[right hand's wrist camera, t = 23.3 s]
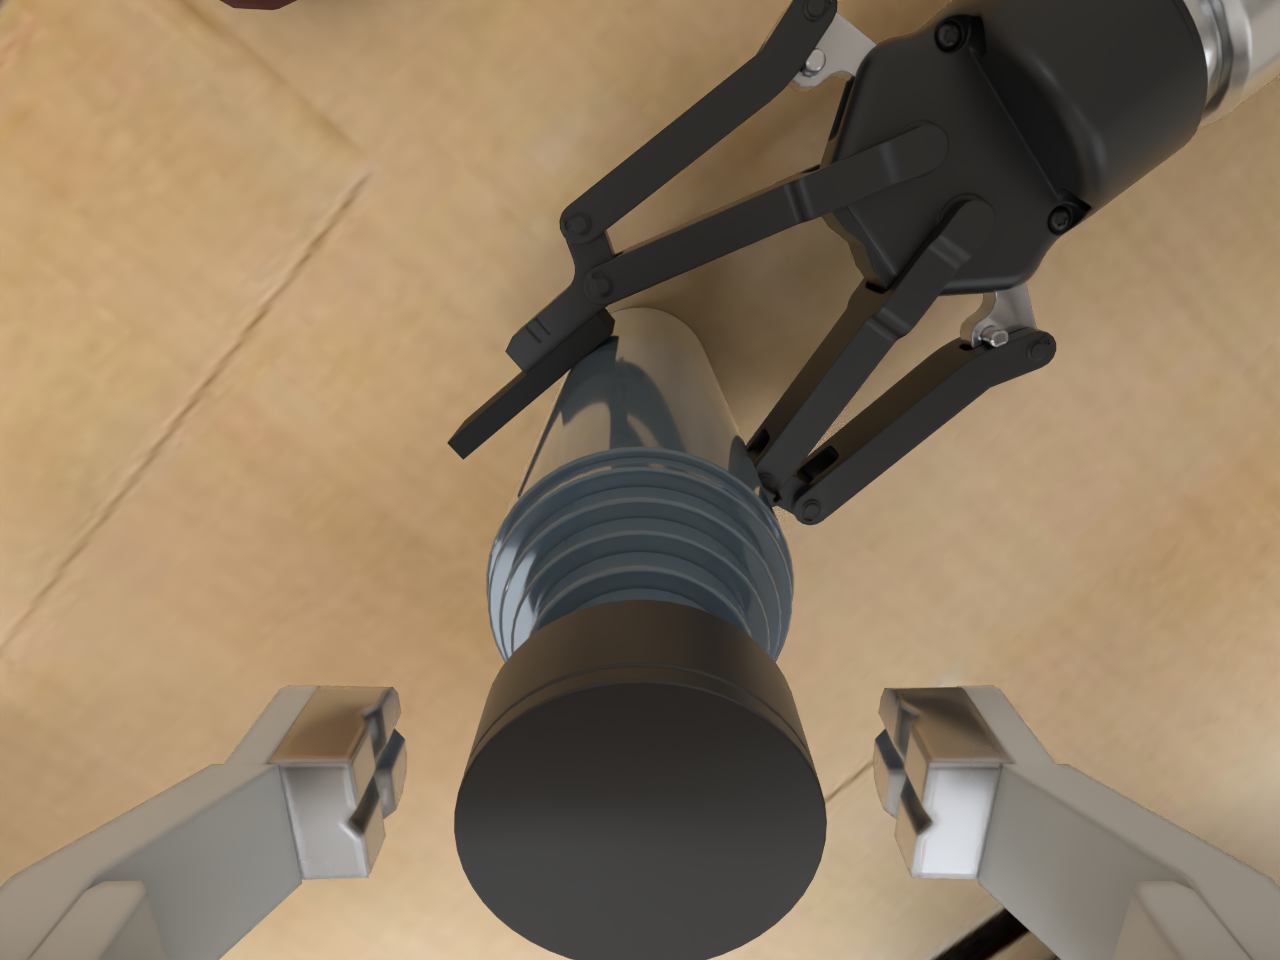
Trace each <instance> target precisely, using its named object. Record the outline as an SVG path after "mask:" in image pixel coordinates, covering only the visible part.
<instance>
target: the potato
mask: <svg viewBox="0 0 1280 960" xmlns="http://www.w3.org/2000/svg"><path fill="white" fill-rule="evenodd" d="M220 1H222V2H224V3H226V4H228V5H229V6H231V7H233V8H244V9H263V10H275V9H279V8H281V7H284V6H286V5H288V4H290V3H292V2H294V1H296V0H220Z"/></svg>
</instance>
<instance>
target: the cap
mask: <svg viewBox="0 0 1280 960" xmlns="http://www.w3.org/2000/svg"><path fill="white" fill-rule="evenodd" d="M826 826H827V819H826V809H825V801H824V798H823V794H822V790H821V787H820V783H819V780H818V777H817V773H816V770H815V767H814V764H813V761H812V757H811V754H810V751H809V748H808V744H807V741H806V738H805V735H804V731H803V728H802V725H801V722H800V718H799V715H798V712H797V709H796V705H795V702H794V699H793V696H792V692H791V690H790V688H789V686H788V684H787V681H786V679H785V677H784V675H783V674H782V672H781V671H780V669H779V667H778V666H777V664H776V663H775V661H774V660H773V659H772V658H771V657H770V655H769V654H768V653H767V652H766V651H765V650H764V649H763V648H762V646H761V645H759V644H758V643H757V642H756V641H755V640H753V639H752V638H751V637H750V636H749V635H748V634H746V633H745V632H743V631H742V630H740V629H739V628H737V627H736V626H734V625H733V624H731V623H729V622H728V621H726V620H724V619H722V618H720V617H717V616H715V615H713V614H711V613H709V612H706V611H703V610H700V609H697V608H694V607H691V606H688V605H683V604H678V603H673V602H668V601H658V600H646V599H645V600H621V601H614V602H607V603H601V604H598V605H594V606H590V607H587V608H583V609H580V610H577V611H575V612H572V613H570V614H568V615H565V616H563V617H561V618H559V619H557V620H555V621H553V622H552V623H550V624H548V625H546V626H544V627H543V628H542V629H540V630H539V631H537V632H536V633H535V634H533V635H532V636H531V637H529V638H528V639H527V640H526V641H525V642H524V643H523V644H522V645H521V646H519V647H518V648H517V649H516V650H515V651H514V652H513V653H512V655H511V656H510V657H509V659H508V660H507V661H506V663H505V664H504V665H503V666H502V668H501V670H500V671H499V673H498V675H497V677H496V679H495V680H494V682H493V684H492V687H491V690H490V692H489V695H488V698H487V700H486V704H485V707H484V710H483V714H482V717H481V720H480V723H479V727H478V730H477V733H476V736H475V740H474V743H473V746H472V750H471V753H470V756H469V759H468V763H467V766H466V769H465V772H464V776H463V779H462V782H461V786H460V789H459V792H458V797H457V802H456V807H455V816H454V833H455V839H456V846H457V852H458V855H459V858H460V861H461V864H462V867H463V870H464V872H465V874H466V876H467V878H468V880H469V882H470V884H471V886H472V887H473V889H474V890H475V892H476V893H477V894H478V896H479V897H480V899H481V900H482V901H483V903H484V904H485V905H486V906H487V907H488V908H489V909H490V910H491V911H492V912H493V913H494V915H495V916H496V917H497V918H499V919H500V920H501V921H502V922H503V923H505V924H506V925H507V926H508V927H509V928H511V929H512V930H513V931H515V932H516V933H518V934H519V935H521V936H523V937H524V938H526V939H527V940H529V941H530V942H532V943H534V944H536V945H538V946H540V947H542V948H544V949H546V950H548V951H551V952H553V953H556V954H559V955H561V956H564V957H567V958H569V959H573V960H707V959H710V958H713V957H717V956H720V955H722V954H725V953H727V952H729V951H732V950H734V949H736V948H739V947H741V946H743V945H744V944H746V943H748V942H750V941H751V940H753V939H755V938H757V937H758V936H760V935H761V934H763V933H764V932H766V931H767V930H768V929H770V928H771V927H772V926H774V925H775V924H776V923H777V922H779V921H780V920H781V919H782V918H783V917H784V916H785V915H786V914H787V913H788V912H789V911H790V910H791V909H792V908H793V907H794V905H795V904H796V903H797V902H798V901H799V899H800V898H801V897H802V896H803V894H804V893H805V891H806V889H807V888H808V886H809V885H810V883H811V881H812V880H813V878H814V875H815V873H816V871H817V868H818V866H819V863H820V861H821V857H822V853H823V849H824V845H825V840H826Z"/></svg>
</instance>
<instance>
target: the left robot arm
mask: <svg viewBox="0 0 1280 960" xmlns="http://www.w3.org/2000/svg"><path fill="white" fill-rule="evenodd" d="M1279 74H1280V0H953V1H952V2H951V3H950V4H949V5H947V6H946V7H945V8H944V9H943V10H942V11H940V12H939V13H938V14H937V15H936V16H935V17H933V18H932V19H931V20H930V21H929V22H928V23H926V24H925V25H924V26H923V27H921V28H920V29H919V30H918V31H916V32H914V33H911V34H909V35H905V36H900V37H895V38H891V39H887V40H885V41H883V42H881V43H879V44H878V45H876V44H875V43H874V42H873V41H871V40H870V39H869V38H868V37H867V36H865V35H864V34H863V33H862V32H860V31H859V30H858V29H857V28H856V27H854V26H853V25H852V24H851V23H849V22H848V21H847V20H846V19H845V18H843V17H842V16H841V15H840V14H838V13H837V0H792V1H791V3H790V4H789V5H788V7H787V8H786V9H785V11H784V12H783V13H782V15H781V16H780V18H779V19H778V21H777V23H776V24H775V26H774V27H773V29H772V30H771V32H770V34H769V35H768V37H767V38H766V40H765V42H764V43H763V45H762V46H761V48H760V49H759V51H758V53H757V54H756V56H754V57H753V58H752V59H751V60H749V61H748V62H747V63H746V64H744V65H743V66H742V67H741V68H739V69H738V70H737V71H736V72H734V73H733V74H732V75H731V76H729V77H728V78H727V79H726V80H724V81H723V82H722V83H721V84H720V85H718V86H717V87H716V88H715V89H713V90H712V91H711V92H710V93H708V94H707V95H706V96H705V97H703V98H702V99H701V100H700V101H698V102H697V103H696V104H695V105H693V106H692V107H691V108H690V109H688V110H687V111H686V112H685V113H683V114H682V115H681V116H680V117H678V118H677V119H676V120H675V121H673V122H672V123H671V124H670V125H668V126H667V127H666V128H665V129H663V130H662V131H661V132H660V133H658V134H657V135H656V136H655V137H654V138H652V139H651V140H650V141H649V142H647V143H646V144H645V145H644V146H642V147H641V148H640V149H639V150H637V151H636V152H635V153H634V154H632V155H631V156H630V157H629V158H627V159H626V160H625V161H624V162H622V163H621V164H620V165H619V166H617V167H616V168H615V169H614V170H612V171H611V172H610V173H609V174H607V175H606V176H605V177H604V178H602V179H601V180H600V181H599V182H597V183H596V184H595V185H594V186H592V187H591V188H590V189H589V190H588V191H586V192H585V193H584V194H583V195H581V196H580V197H579V198H578V199H576V200H575V201H574V202H573V203H571V204H570V205H569V206H568V207H567V208H566V209H565V210H564V211H563V212H562V215H561V218H560V230H561V232H562V234H563V236H564V237H565V239H566V241H567V244H568V247H569V249H570V252H571V255H572V257H573V260H574V264H575V276H574V280H573V282H572V283H571V285H570V286H569V287H567V288H566V289H565V290H564V291H563V292H562V293H561V294H559V295H558V296H557V297H556V298H555V299H554V300H553V301H551V302H550V303H549V304H548V305H547V306H546V307H545V308H543V309H542V310H541V311H540V312H539V313H538V314H537V315H535V316H534V317H533V318H532V319H531V320H530V321H529V322H527V323H526V324H525V325H524V326H523V327H522V328H521V329H519V330H518V332H517V333H516V334H515V335H514V336H513V337H512V339H511V341H510V343H509V345H508V347H507V349H506V351H505V352H506V353H507V354H508V355H509V356H510V357H511V358H512V359H513V361H514V362H515V363H516V364H517V365H518V366H519V367H520V368H521V370H522V372H521V373H520V374H519V375H517V376H516V377H515V378H514V379H513V380H512V381H510V382H509V383H508V384H507V385H506V386H505V387H503V388H502V389H501V390H500V391H499V392H498V393H496V394H495V395H494V396H493V397H492V398H491V399H489V400H488V401H487V402H486V403H485V404H484V405H482V406H481V407H480V408H479V409H478V410H477V411H475V412H474V413H473V414H472V415H471V416H470V417H468V418H467V419H466V420H465V421H464V422H463V424H462V425H461V426H460V427H459V429H458V430H457V431H456V432H455V434H454V435H453V436H452V438H451V439H450V440H449V441H448V444H449V445H450V446H451V447H452V448H453V449H454V451H455V452H456V453H457V454H458V455H459V456H460V457H461V458H462V459H465V458H466V457H467V456H468V455H469V454H470V453H472V452H473V451H474V450H475V449H476V448H478V447H479V446H480V445H481V444H482V443H484V442H485V441H486V440H487V439H488V438H489V437H491V436H492V435H493V434H494V433H495V432H497V431H498V430H499V429H500V428H501V427H503V426H504V425H505V424H506V423H507V422H508V421H510V420H511V419H512V418H513V417H514V416H516V415H517V414H518V413H519V412H520V411H522V410H523V409H524V408H525V407H526V406H527V405H529V404H530V403H531V402H532V401H533V400H535V399H536V398H537V397H538V396H539V395H541V394H542V393H543V392H544V391H545V390H546V389H548V388H549V387H550V386H551V385H552V384H554V383H555V382H556V381H557V380H558V379H560V378H561V377H562V376H563V375H564V374H565V373H567V372H568V371H569V370H570V369H571V368H573V367H574V366H575V365H576V364H577V363H578V362H580V361H581V360H582V359H583V358H584V357H586V356H587V355H588V354H589V353H590V352H592V351H593V350H594V349H595V348H596V347H597V346H599V345H600V344H601V343H602V342H603V341H605V340H606V339H607V338H608V337H609V336H611V335H612V334H613V330H614V325H615V320H614V318H613V317H612V316H611V315H610V314H609V312H608V311H607V310H606V309H605V308H606V307H607V306H608V305H609V304H612V303H614V302H617V301H619V300H621V299H624V298H626V297H628V296H631V295H633V294H635V293H638V292H640V291H642V290H645V289H647V288H649V287H652V286H654V285H656V284H659V283H661V282H663V281H666V280H668V279H670V278H673V277H675V276H677V275H680V274H682V273H684V272H687V271H689V270H691V269H694V268H696V267H698V266H701V265H703V264H705V263H708V262H710V261H712V260H715V259H717V258H719V257H722V256H724V255H726V254H729V253H731V252H734V251H736V250H738V249H741V248H743V247H745V246H748V245H750V244H752V243H755V242H757V241H759V240H762V239H764V238H766V237H769V236H771V235H773V234H776V233H778V232H780V231H783V230H785V229H787V228H790V227H792V226H794V225H797V224H800V223H803V222H806V221H809V220H812V219H815V218H817V217H820V216H822V218H823V219H824V220H825V222H826V223H827V225H828V226H829V227H830V228H831V229H832V230H834V231H835V232H836V233H837V234H839V235H840V236H841V237H842V238H844V239H845V240H846V241H847V242H848V244H849V246H850V249H851V252H852V255H853V258H854V261H855V264H856V266H857V267H858V269H859V270H860V272H861V273H862V274H863V276H864V277H865V278H864V279H863V280H862V282H861V283H860V285H859V286H858V287H857V289H856V290H855V291H854V293H853V294H852V296H851V298H850V300H849V302H848V306H847V309H846V310H845V312H844V313H843V315H842V316H841V317H840V319H839V320H838V321H837V323H836V324H835V325H834V327H833V328H832V330H831V331H830V332H829V334H828V335H827V336H826V338H825V339H824V340H823V342H822V343H821V344H820V346H819V347H818V348H817V350H816V351H815V353H814V354H813V355H812V357H811V358H810V359H809V361H808V362H807V363H806V365H805V366H804V367H803V369H802V370H801V372H800V373H799V374H798V376H797V377H796V378H795V380H794V381H793V382H792V384H791V385H790V386H789V388H788V389H787V390H786V392H785V393H784V395H783V396H782V397H781V399H780V400H779V401H778V403H777V404H776V405H775V407H774V408H773V409H772V411H771V412H770V414H769V415H768V416H767V418H766V419H765V420H764V422H763V423H762V424H761V426H760V427H759V428H758V430H757V431H756V432H755V434H754V435H753V437H752V438H751V439H750V441H749V442H748V443H747V445H746V448H747V450H748V453H749V455H750V457H751V460H752V462H753V464H754V467H755V469H756V471H757V474H758V476H759V478H760V481H761V483H762V485H763V488H764V490H765V492H766V495H767V497H768V499H769V502H770V504H771V506H772V507H774V506H779V507H781V508H783V509H785V510H786V511H788V512H790V513H792V514H794V515H795V516H796V518H797V520H798V521H800V522H801V523H802V524H806V525H814V524H818V523H819V522H821V521H823V520H824V519H825V518H827V517H828V516H829V515H830V514H832V513H833V512H834V511H835V510H837V509H838V508H839V507H840V506H842V505H843V504H844V503H845V502H847V501H848V500H849V499H850V498H852V497H853V496H854V495H856V494H857V493H858V492H859V491H861V490H862V489H863V488H864V487H866V486H867V485H868V484H869V483H871V482H872V481H873V480H874V479H876V478H877V477H878V476H879V475H881V474H882V473H883V472H884V471H886V470H887V469H888V468H889V467H891V466H892V465H893V464H894V463H896V462H897V461H898V460H900V459H901V458H902V457H903V456H905V455H906V454H907V453H908V452H910V451H911V450H912V449H913V448H915V447H916V446H917V445H918V444H920V443H921V442H922V441H923V440H925V439H926V438H927V437H928V436H930V435H931V434H932V433H933V432H935V431H936V430H937V429H939V428H940V427H941V426H942V425H944V424H945V423H946V422H947V421H949V420H950V419H951V418H952V417H954V416H955V415H956V414H957V413H959V412H960V411H961V410H962V409H964V408H965V407H966V406H967V405H969V404H970V403H971V402H972V401H974V400H975V399H976V398H977V397H979V396H980V395H981V394H983V393H984V392H985V391H986V390H988V389H989V388H990V387H993V386H995V385H998V384H1000V383H1003V382H1006V381H1008V380H1011V379H1013V378H1016V377H1018V376H1021V375H1023V374H1026V373H1029V372H1031V371H1034V370H1036V369H1039V368H1041V367H1043V366H1045V365H1046V364H1048V363H1049V362H1050V361H1051V360H1052V358H1053V357H1054V354H1055V352H1056V342H1055V340H1054V338H1053V336H1051V335H1050V334H1049V333H1047V332H1044V331H1041V330H1038V329H1037V327H1036V324H1035V320H1034V315H1033V311H1032V307H1031V303H1030V299H1029V295H1028V290H1027V286H1026V281H1027V280H1028V279H1029V278H1030V277H1031V276H1032V275H1033V274H1034V273H1035V271H1036V270H1037V268H1038V267H1039V265H1040V263H1041V261H1042V259H1043V257H1044V256H1045V254H1046V252H1047V251H1048V250H1049V248H1050V247H1051V246H1052V245H1053V243H1054V242H1055V241H1056V240H1057V239H1058V238H1059V237H1061V236H1062V235H1063V234H1065V233H1066V232H1067V231H1069V230H1071V229H1072V228H1074V227H1075V226H1077V225H1078V224H1080V223H1081V222H1083V221H1084V220H1086V219H1087V218H1089V217H1090V216H1091V215H1093V214H1094V213H1095V212H1097V211H1098V210H1099V209H1101V208H1102V207H1103V206H1105V205H1106V204H1107V203H1109V202H1110V201H1111V200H1113V199H1114V198H1115V197H1117V196H1118V195H1119V194H1121V193H1122V192H1123V191H1125V190H1126V189H1127V188H1129V187H1130V186H1131V185H1133V184H1134V183H1135V182H1137V181H1138V180H1139V179H1141V178H1142V177H1143V176H1145V175H1146V174H1147V173H1149V172H1150V171H1151V170H1153V169H1154V168H1155V167H1157V166H1158V165H1159V164H1161V163H1162V162H1163V161H1165V160H1166V159H1167V158H1169V157H1170V156H1171V155H1173V154H1174V153H1175V152H1177V151H1178V150H1179V149H1181V148H1182V147H1183V146H1184V145H1185V144H1186V143H1188V142H1189V141H1190V139H1191V138H1192V137H1193V135H1194V134H1195V132H1196V130H1197V128H1198V127H1205V126H1207V125H1210V124H1212V123H1214V122H1216V121H1218V120H1220V119H1222V118H1223V117H1225V116H1226V115H1227V114H1229V113H1230V112H1231V111H1232V110H1234V109H1235V108H1236V107H1238V106H1239V105H1240V104H1242V103H1243V102H1244V101H1245V100H1247V99H1248V98H1249V97H1251V96H1252V95H1253V94H1255V93H1256V92H1257V91H1258V90H1260V89H1261V88H1262V87H1264V86H1265V85H1266V84H1268V83H1269V82H1270V81H1272V80H1273V79H1274V78H1275V77H1277V76H1278V75H1279ZM833 76H835V77H841V78H842V79H844V80H846V81H847V82H846V85H845V88H844V91H843V95H842V98H841V101H840V104H839V107H838V110H837V114H836V117H835V120H834V123H833V126H832V130H831V133H830V136H829V139H828V142H827V146H826V149H825V152H824V155H823V158H822V162H821V163H820V164H818V165H816V166H813V167H811V168H809V169H807V170H804V171H802V172H800V173H797V174H795V175H793V176H791V177H788V178H786V179H784V180H781V181H779V182H777V183H775V184H774V185H772V186H769V187H767V188H765V189H763V190H760V191H758V192H756V193H753V194H751V195H749V196H747V197H744V198H742V199H740V200H737V201H735V202H733V203H731V204H728V205H726V206H724V207H721V208H719V209H717V210H715V211H712V212H710V213H708V214H705V215H703V216H701V217H698V218H696V219H694V220H692V221H689V222H687V223H685V224H682V225H680V226H678V227H676V228H673V229H671V230H669V231H666V232H664V233H662V234H660V235H657V236H655V237H653V238H650V239H648V240H646V241H644V242H641V243H639V244H637V245H634V246H632V247H630V248H628V249H625V250H623V251H621V252H618V253H616V254H615V253H614V250H613V247H612V244H611V242H610V239H609V236H608V233H607V229H608V228H609V227H610V226H612V225H613V224H614V223H616V222H617V221H618V220H619V219H621V218H622V217H623V216H624V215H626V214H627V213H628V212H630V211H631V210H632V209H633V208H635V207H636V206H637V205H638V204H640V203H641V202H642V201H644V200H645V199H646V198H647V197H649V196H650V195H651V194H652V193H654V192H655V191H656V190H658V189H659V188H660V187H661V186H663V185H664V184H665V183H667V182H668V181H669V180H670V179H672V178H673V177H674V176H675V175H677V174H678V173H679V172H681V171H682V170H683V169H684V168H686V167H687V166H688V165H689V164H691V163H692V162H693V161H695V160H696V159H697V158H698V157H700V156H701V155H702V154H703V153H705V152H706V151H707V150H709V149H710V148H711V147H712V146H714V145H715V144H716V143H718V142H719V141H720V140H721V139H723V138H724V137H725V136H726V135H728V134H729V133H730V132H732V131H733V130H734V129H735V128H737V127H738V126H739V125H740V124H742V123H743V122H744V121H746V120H747V119H748V118H749V117H751V116H752V115H753V114H754V113H756V112H757V111H758V110H760V109H761V108H762V107H763V106H765V105H766V104H767V103H769V102H770V101H771V100H772V99H773V98H774V97H775V96H777V95H778V94H779V93H780V92H781V91H782V90H783V89H784V88H785V87H786V86H787V85H788V86H789V87H790V88H792V89H793V90H795V91H799V92H806V91H809V90H811V89H813V88H815V87H816V86H818V85H819V84H821V83H822V82H823V81H824V80H825V79H826V78H828V77H833ZM978 293H983V302H982V304H981V306H980V308H979V309H978V310H977V311H976V312H975V313H974V314H972V315H971V316H970V317H968V318H967V319H966V320H965V321H964V322H963V323H962V326H961V330H960V337H959V338H957V339H955V340H953V341H951V342H949V343H948V344H946V345H944V346H943V347H941V348H939V349H938V350H937V351H935V352H934V353H933V354H931V355H930V356H929V357H927V358H926V359H925V360H924V361H923V362H921V363H920V364H919V365H918V366H917V367H915V368H914V369H913V370H912V371H911V372H909V373H908V374H907V375H906V376H904V377H903V378H902V379H901V380H900V381H898V382H897V383H896V384H895V385H894V386H892V387H891V388H890V389H889V390H887V391H886V392H885V393H884V394H883V395H881V396H880V397H879V398H878V399H877V400H875V401H874V402H873V403H872V404H871V405H869V406H868V407H867V408H866V409H864V410H863V411H862V412H861V413H860V414H858V415H857V416H856V417H855V418H854V419H852V420H851V421H850V422H849V423H848V424H846V425H845V426H844V427H843V428H841V429H840V430H839V431H838V432H837V433H835V434H834V435H833V436H832V437H831V438H829V439H828V440H827V441H826V442H825V443H823V444H822V445H821V446H820V447H818V448H817V449H816V450H815V451H814V452H812V453H811V454H810V455H809V456H808V457H807V455H808V454H809V453H810V452H811V450H812V449H813V448H814V446H815V445H816V444H817V442H818V441H819V440H820V439H821V437H822V436H823V435H824V433H825V432H826V431H827V430H828V428H829V427H830V426H831V424H832V423H833V422H834V420H835V419H836V418H837V417H838V415H839V414H840V413H841V411H842V410H843V409H844V407H845V406H846V405H847V404H848V402H849V401H850V400H851V398H852V397H853V396H854V395H855V393H856V392H857V391H858V389H859V388H860V387H861V385H862V384H863V383H864V382H865V380H866V379H867V378H868V376H869V375H870V374H871V373H872V371H873V370H874V369H875V367H876V366H877V365H878V363H879V362H880V361H881V360H882V358H883V357H884V356H885V354H886V353H887V352H888V350H889V349H890V348H891V347H892V345H893V344H894V343H895V342H896V341H897V340H898V339H900V338H901V337H903V336H905V335H906V334H908V333H909V332H910V331H911V330H912V329H913V328H914V326H915V325H916V324H917V323H918V321H919V320H920V319H921V317H922V316H923V315H924V314H925V312H926V311H927V310H928V308H929V307H930V306H931V304H932V303H933V302H934V301H935V299H936V298H937V297H938V296H948V295H963V294H978ZM1055 960H1061V959H1060V958H1059V957H1057V958H1056V959H1055Z"/></svg>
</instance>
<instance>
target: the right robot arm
mask: <svg viewBox="0 0 1280 960" xmlns="http://www.w3.org/2000/svg"><path fill="white" fill-rule="evenodd" d="M400 714H401V708H400V702H399V696H398V692H397V691H396V690H395V689H394V688H393V687H357V686H322V687H321V686H286V687H284V688H281V689H280V690H279V691H278V692H277V693H276V694H275V696H274V697H273V698H272V700H271V701H270V703H269V704H268V705H267V707H266V708H265V709H264V711H263V712H262V713H261V715H260V716H259V717H258V719H257V720H256V721H255V723H254V724H253V725H252V727H251V728H250V729H249V731H248V732H247V733H246V735H245V736H244V737H243V739H242V740H241V741H240V743H239V744H238V745H237V747H236V748H235V749H234V751H233V752H232V754H231V755H230V756H229V758H228V759H227V760H226V762H225V763H224V764H212V765H210V766H208V767H206V768H205V769H203V770H201V771H199V772H197V773H196V774H194V775H192V776H190V777H188V778H187V779H185V780H183V781H181V782H179V783H178V784H176V785H174V786H172V787H171V788H169V789H167V790H165V791H163V792H162V793H160V794H158V795H156V796H154V797H153V798H151V799H149V800H147V801H146V802H144V803H142V804H140V805H138V806H137V807H135V808H133V809H131V810H129V811H128V812H126V813H124V814H122V815H121V816H119V817H117V818H115V819H113V820H112V821H110V822H108V823H106V824H104V825H103V826H101V827H99V828H97V829H96V830H94V831H92V832H90V833H88V834H87V835H85V836H83V837H81V838H79V839H78V840H76V841H74V842H72V843H71V844H69V845H67V846H65V847H63V848H62V849H60V850H58V851H56V852H54V853H53V854H51V855H49V856H47V857H46V858H44V859H42V860H40V861H38V862H37V863H35V864H33V865H31V866H29V867H28V868H26V869H24V870H22V871H20V872H19V873H17V874H15V875H13V876H12V877H10V878H9V879H8V880H7V881H6V882H5V883H4V884H3V885H2V886H1V888H0V960H219V959H220V958H221V957H222V956H223V955H225V954H226V953H227V952H228V951H229V950H230V949H231V948H232V947H233V946H234V945H235V944H236V943H238V942H239V941H240V940H241V939H242V938H243V937H244V936H245V935H246V934H247V933H248V932H249V931H251V930H252V929H253V928H254V927H255V926H256V925H257V924H258V923H259V922H260V921H261V920H263V919H264V918H265V917H266V916H267V915H268V914H269V913H270V912H271V911H272V910H273V909H274V908H276V907H277V906H278V905H279V904H280V903H281V902H282V901H283V900H284V899H285V898H286V897H287V896H289V895H290V894H291V893H292V892H293V891H294V890H295V889H296V888H297V887H298V886H299V885H300V884H302V881H301V879H335V878H369V875H370V873H371V871H372V868H373V866H374V863H375V861H376V858H377V856H378V853H379V851H380V848H381V846H382V844H383V841H384V839H385V836H386V835H385V828H384V821H383V819H385V818H386V817H387V816H389V815H390V814H391V813H392V812H394V811H395V810H396V809H397V806H398V803H399V801H400V798H401V795H402V792H403V787H404V781H405V776H406V761H407V753H406V745H405V739H404V738H403V737H402V736H401V735H400V734H399V733H398V732H397V731H396V730H395V729H394V728H395V725H396V723H397V721H398V719H399V717H400ZM879 714H880V717H881V719H882V721H883V723H884V726H885V730H884V731H883V732H882V733H881V734H880V735H879V736H878V737H877V738H876V739H875V746H874V756H873V764H874V778H875V783H876V787H877V792H878V796H879V798H880V801H881V803H882V806H883V809H884V810H885V811H886V812H888V813H889V814H890V815H891V816H893V817H894V818H895V819H897V821H896V828H895V835H894V836H895V839H896V841H897V844H898V846H899V848H900V851H901V853H902V856H903V858H904V861H905V863H906V865H907V868H908V870H909V873H910V875H911V878H944V879H979V880H978V883H979V884H980V885H981V886H982V887H983V888H984V889H985V890H986V891H988V892H989V893H990V894H991V895H992V896H993V897H994V898H995V899H996V900H997V901H998V902H999V903H1001V904H1002V905H1003V906H1004V907H1005V908H1006V909H1007V910H1008V911H1009V912H1010V913H1011V914H1012V915H1013V916H1015V917H1016V918H1017V919H1018V920H1019V921H1020V922H1021V923H1022V924H1023V925H1024V926H1025V927H1026V928H1028V929H1029V930H1030V931H1031V932H1032V933H1033V934H1034V935H1035V936H1036V937H1037V938H1038V939H1039V940H1041V941H1042V942H1043V943H1044V944H1045V945H1046V946H1047V947H1048V948H1049V949H1050V950H1051V951H1052V952H1053V953H1055V954H1056V955H1057V956H1058V957H1059V958H1060V959H1061V960H1280V887H1279V886H1278V885H1277V884H1276V883H1275V882H1274V881H1273V880H1272V879H1271V878H1270V877H1268V876H1266V875H1264V874H1262V873H1261V872H1259V871H1257V870H1255V869H1254V868H1252V867H1250V866H1248V865H1246V864H1245V863H1243V862H1241V861H1239V860H1238V859H1236V858H1234V857H1232V856H1230V855H1229V854H1227V853H1225V852H1223V851H1221V850H1220V849H1218V848H1216V847H1214V846H1213V845H1211V844H1209V843H1207V842H1205V841H1204V840H1202V839H1200V838H1198V837H1197V836H1195V835H1193V834H1191V833H1189V832H1188V831H1186V830H1184V829H1182V828H1181V827H1179V826H1177V825H1175V824H1173V823H1172V822H1170V821H1168V820H1166V819H1165V818H1163V817H1161V816H1159V815H1157V814H1156V813H1154V812H1152V811H1150V810H1148V809H1147V808H1145V807H1143V806H1141V805H1140V804H1138V803H1136V802H1134V801H1132V800H1131V799H1129V798H1127V797H1125V796H1124V795H1122V794H1120V793H1118V792H1116V791H1115V790H1113V789H1111V788H1109V787H1108V786H1106V785H1104V784H1102V783H1100V782H1099V781H1097V780H1095V779H1093V778H1091V777H1090V776H1088V775H1086V774H1084V773H1083V772H1081V771H1079V770H1077V769H1075V768H1074V767H1072V766H1070V765H1068V764H1056V763H1055V762H1054V760H1053V759H1052V758H1051V756H1050V755H1049V754H1048V752H1047V751H1046V750H1045V748H1044V747H1043V746H1042V744H1041V743H1040V742H1039V740H1038V739H1037V738H1036V736H1035V735H1034V734H1033V732H1032V731H1031V730H1030V728H1029V727H1028V726H1027V724H1026V723H1025V722H1024V720H1023V719H1022V718H1021V716H1020V715H1019V714H1018V712H1017V711H1016V710H1015V708H1014V707H1013V706H1012V704H1011V703H1010V702H1009V700H1008V699H1007V698H1006V696H1005V695H1004V694H1003V692H1002V691H1001V690H1000V689H999V688H997V687H995V686H993V685H983V686H957V687H941V688H885V689H884V691H883V694H882V696H881V700H880V707H879Z"/></svg>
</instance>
